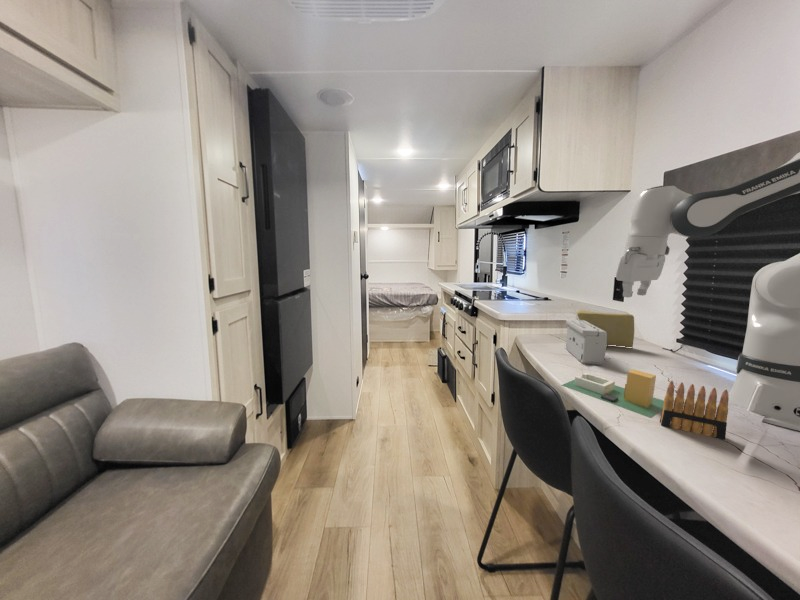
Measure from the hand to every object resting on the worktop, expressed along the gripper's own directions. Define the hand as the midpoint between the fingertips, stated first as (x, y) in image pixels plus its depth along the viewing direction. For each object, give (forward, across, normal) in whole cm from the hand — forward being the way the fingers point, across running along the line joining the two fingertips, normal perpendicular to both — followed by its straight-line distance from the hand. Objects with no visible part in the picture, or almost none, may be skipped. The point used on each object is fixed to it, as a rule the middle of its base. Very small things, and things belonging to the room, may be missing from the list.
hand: (634, 296), depth 88 cm
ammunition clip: (+27, -14, -21) cm, 37 cm away
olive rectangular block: (+30, +47, +24) cm, 61 cm away
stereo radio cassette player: (+30, +21, +20) cm, 42 cm away
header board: (+28, -9, -3) cm, 30 cm away
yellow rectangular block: (+27, -9, -9) cm, 29 cm away
